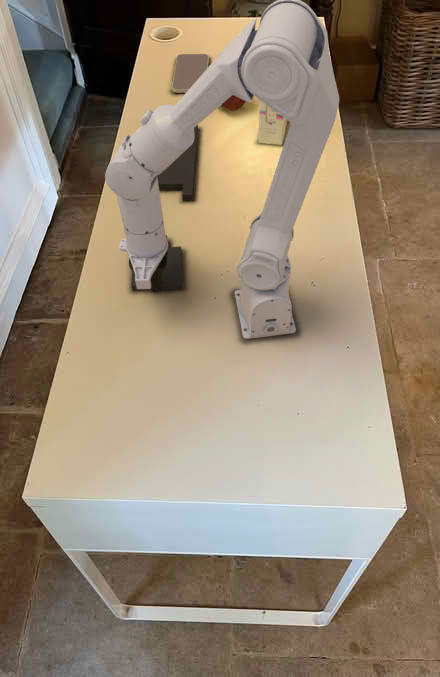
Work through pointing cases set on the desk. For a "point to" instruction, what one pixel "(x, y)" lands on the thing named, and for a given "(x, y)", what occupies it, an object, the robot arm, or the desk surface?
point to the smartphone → (188, 71)
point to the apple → (233, 103)
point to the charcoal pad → (168, 271)
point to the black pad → (181, 172)
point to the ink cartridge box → (270, 125)
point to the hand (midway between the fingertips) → (154, 285)
